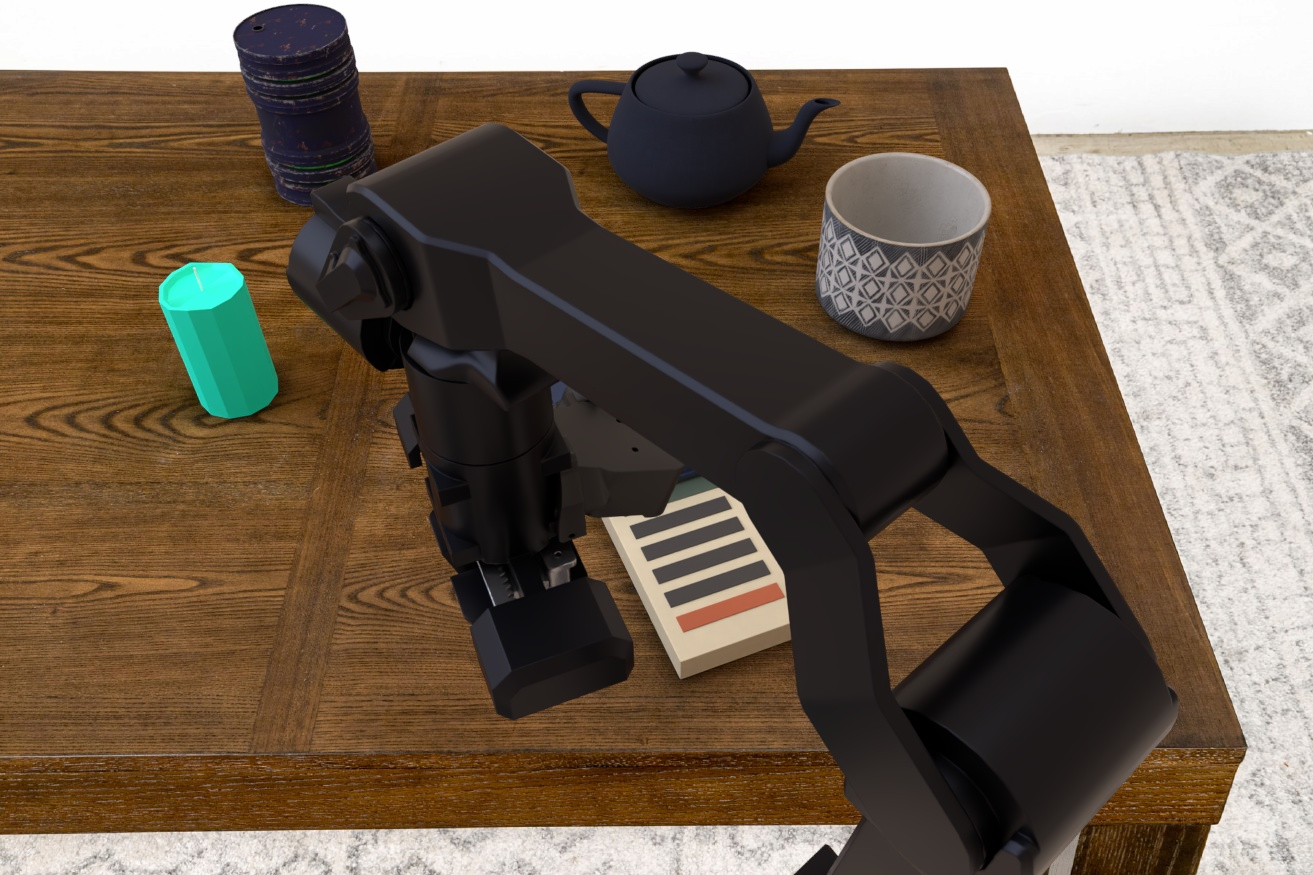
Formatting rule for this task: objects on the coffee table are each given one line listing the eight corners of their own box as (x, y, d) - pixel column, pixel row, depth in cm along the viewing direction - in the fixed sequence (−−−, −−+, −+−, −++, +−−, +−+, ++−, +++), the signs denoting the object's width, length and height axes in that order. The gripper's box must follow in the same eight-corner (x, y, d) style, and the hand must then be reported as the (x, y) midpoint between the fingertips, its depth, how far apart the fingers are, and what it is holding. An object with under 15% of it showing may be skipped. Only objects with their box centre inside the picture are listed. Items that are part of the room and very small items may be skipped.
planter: (954, 366, 91) (979, 259, 84) (798, 333, 94) (809, 227, 87) (976, 271, 100) (1001, 167, 92) (831, 244, 102) (844, 141, 95)
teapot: (548, 205, 107) (537, 84, 98) (596, 119, 117) (590, 3, 109) (816, 245, 102) (830, 122, 94) (842, 151, 113) (856, 33, 104)
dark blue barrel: (390, 151, 114) (361, 5, 103) (364, 209, 107) (330, 59, 96) (291, 147, 114) (252, 1, 104) (259, 205, 107) (213, 55, 97)
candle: (268, 418, 88) (224, 295, 79) (190, 418, 88) (137, 295, 79) (287, 365, 92) (247, 242, 83) (212, 365, 92) (164, 242, 84)
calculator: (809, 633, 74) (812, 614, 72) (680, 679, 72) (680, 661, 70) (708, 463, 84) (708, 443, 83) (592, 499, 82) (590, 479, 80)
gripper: (754, 517, 45) (737, 724, 56) (590, 247, 57) (603, 463, 68) (476, 607, 42) (517, 807, 53) (365, 304, 54) (417, 519, 65)
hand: (520, 629), depth 60 cm, fingers closed
